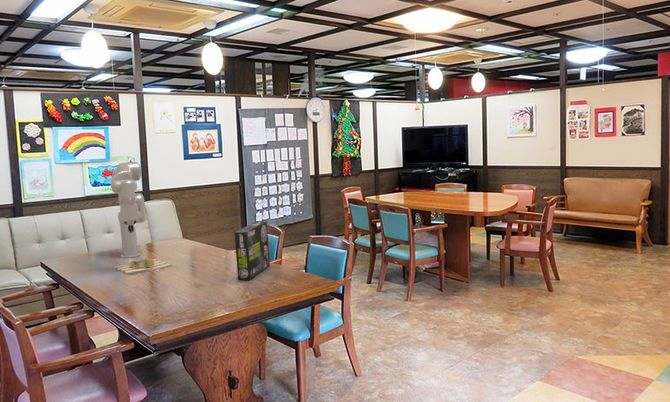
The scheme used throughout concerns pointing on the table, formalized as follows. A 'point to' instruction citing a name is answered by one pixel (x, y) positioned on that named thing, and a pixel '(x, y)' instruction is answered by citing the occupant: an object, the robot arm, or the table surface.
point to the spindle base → (130, 271)
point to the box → (252, 250)
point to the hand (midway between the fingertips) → (131, 232)
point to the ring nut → (148, 263)
